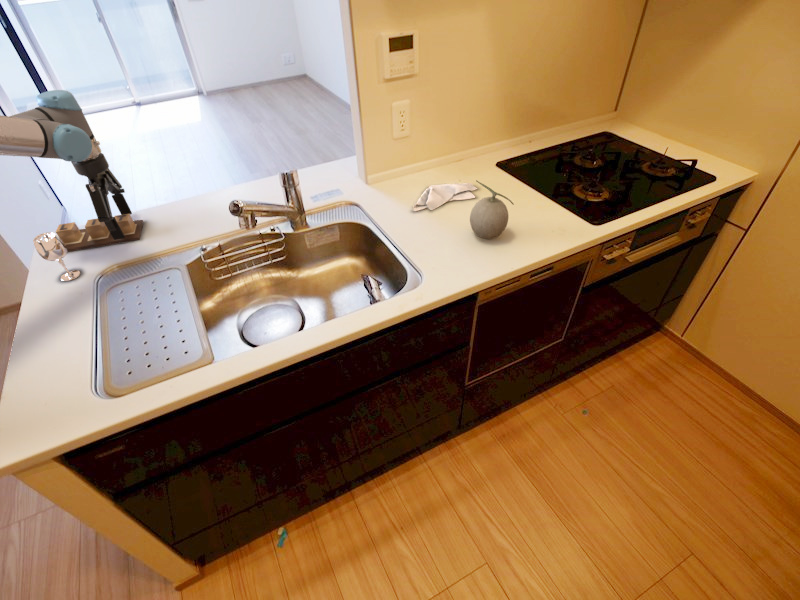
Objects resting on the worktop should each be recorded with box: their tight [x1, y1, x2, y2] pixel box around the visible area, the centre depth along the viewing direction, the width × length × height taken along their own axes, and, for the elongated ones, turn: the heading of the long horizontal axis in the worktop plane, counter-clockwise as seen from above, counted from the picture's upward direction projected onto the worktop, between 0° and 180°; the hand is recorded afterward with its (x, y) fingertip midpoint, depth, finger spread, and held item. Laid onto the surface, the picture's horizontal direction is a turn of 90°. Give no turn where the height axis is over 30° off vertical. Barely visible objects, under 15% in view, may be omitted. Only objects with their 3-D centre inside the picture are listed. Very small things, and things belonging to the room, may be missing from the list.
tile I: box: [84, 218, 109, 239], centre depth 123 cm, size 4×4×4 cm
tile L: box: [55, 222, 82, 243], centre depth 121 cm, size 4×4×4 cm
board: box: [64, 219, 145, 253], centre depth 125 cm, size 22×10×1 cm, turn 108°
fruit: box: [469, 180, 515, 240], centre depth 118 cm, size 10×12×15 cm
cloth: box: [412, 182, 478, 212], centre depth 140 cm, size 26×14×2 cm, turn 115°
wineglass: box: [32, 231, 81, 282], centre depth 108 cm, size 6×6×12 cm
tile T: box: [114, 214, 135, 234], centre depth 124 cm, size 4×4×4 cm
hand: (123, 226), depth 125 cm, fingers open, 13 cm apart
